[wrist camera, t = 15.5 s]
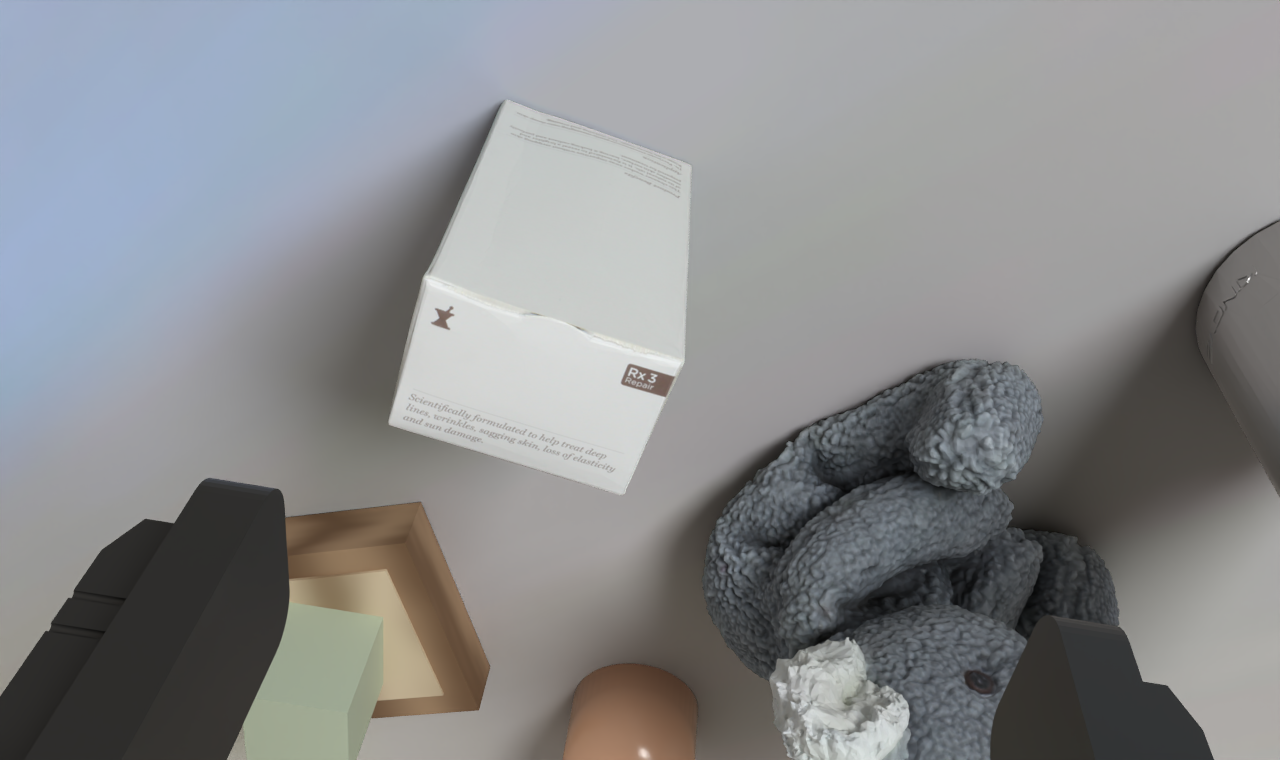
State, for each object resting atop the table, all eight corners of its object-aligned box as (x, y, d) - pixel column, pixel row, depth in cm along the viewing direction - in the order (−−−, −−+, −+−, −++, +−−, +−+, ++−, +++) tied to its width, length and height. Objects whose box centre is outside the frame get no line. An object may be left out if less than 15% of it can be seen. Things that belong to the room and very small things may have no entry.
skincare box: (468, 216, 48) (367, 429, 36) (506, 85, 45) (408, 273, 33) (657, 282, 49) (620, 512, 37) (708, 160, 46) (685, 368, 34)
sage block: (383, 616, 58) (347, 712, 53) (383, 683, 61) (349, 779, 56) (284, 601, 58) (239, 695, 53) (289, 668, 61) (247, 763, 56)
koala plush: (1122, 590, 57) (1260, 986, 41) (785, 683, 63) (789, 1061, 47) (1008, 315, 49) (1123, 674, 33) (633, 452, 55) (576, 812, 39)
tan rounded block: (707, 674, 63) (701, 767, 58) (687, 755, 67) (680, 848, 62) (580, 653, 63) (563, 744, 58) (567, 735, 67) (551, 827, 62)
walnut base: (420, 502, 58) (404, 545, 55) (490, 666, 64) (478, 712, 62) (204, 527, 60) (179, 569, 57) (292, 683, 66) (272, 728, 64)
